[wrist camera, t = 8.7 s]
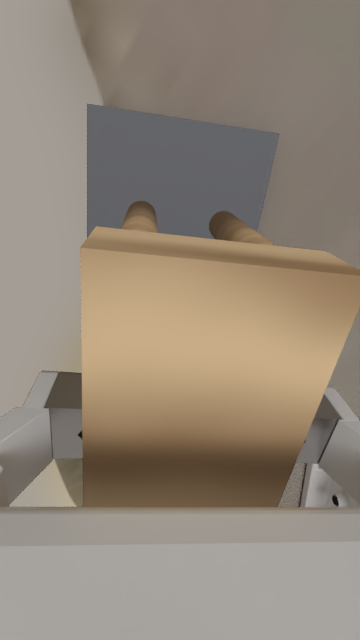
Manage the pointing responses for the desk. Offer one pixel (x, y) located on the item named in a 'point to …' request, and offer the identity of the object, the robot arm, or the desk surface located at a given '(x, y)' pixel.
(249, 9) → the desk surface
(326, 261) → the oak stool
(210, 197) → the charcoal mat
